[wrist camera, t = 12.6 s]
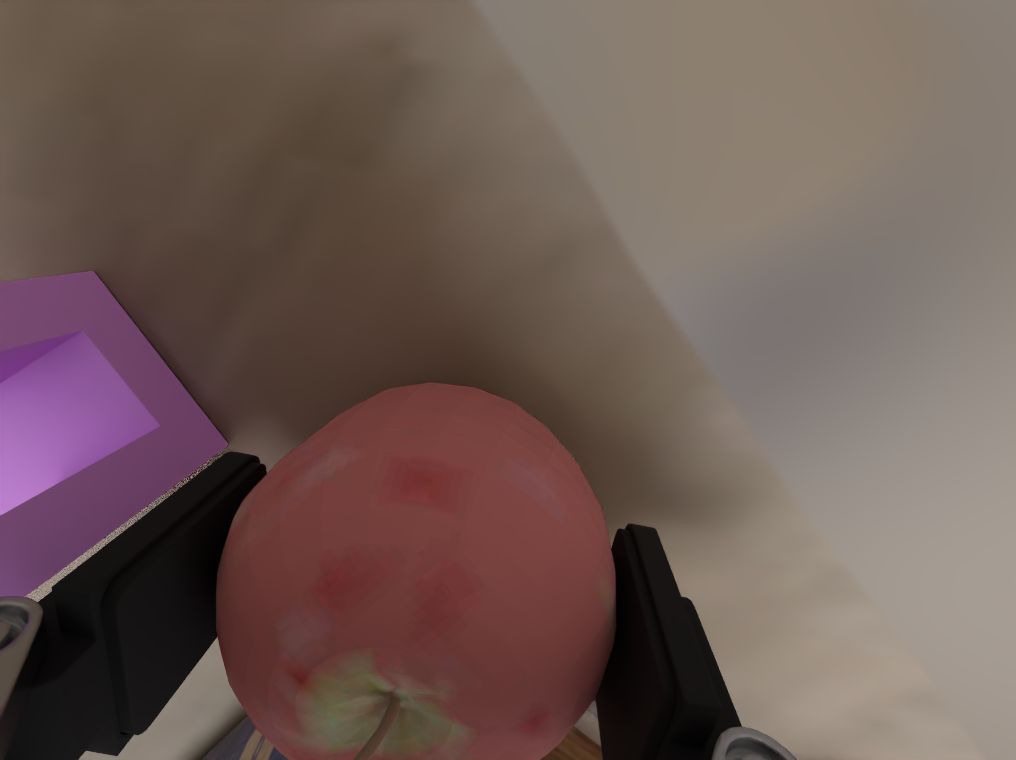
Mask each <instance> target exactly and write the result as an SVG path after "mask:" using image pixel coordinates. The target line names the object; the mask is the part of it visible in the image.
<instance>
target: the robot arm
mask: <svg viewBox="0 0 1016 760" xmlns="http://www.w3.org/2000/svg"><path fill="white" fill-rule="evenodd" d="M266 475H267V471H266V466H265V465H264V464H261V463H260V460H259V458H258V457H257V456H254V455H249V454H243V453H238V452H227V453H225V454H224V455H223V456H221V457H220V458H219V459H217V460H216V461H215V462H213V463H212V464H211V465H210V466H208V467H207V468H206V469H204V470H203V471H202V472H200V473H199V474H198V475H197V476H195V477H194V478H193V479H191V480H190V481H189V482H187V483H186V484H185V485H184V486H182V487H181V488H180V489H178V490H177V491H176V492H174V493H173V494H172V495H171V496H169V497H168V498H167V499H165V500H164V501H163V502H161V503H160V504H159V505H158V506H156V507H155V508H154V509H152V510H151V511H150V512H149V513H147V514H146V515H145V516H143V517H142V518H141V519H139V520H138V521H137V522H136V523H134V524H133V525H132V526H130V527H129V528H128V529H126V530H125V531H124V532H123V533H121V534H120V535H119V536H117V537H116V538H115V539H113V540H112V541H111V542H110V543H108V544H107V545H106V546H104V547H103V548H102V549H100V550H99V551H98V552H97V553H95V554H94V555H93V556H91V557H90V558H89V559H87V560H86V561H85V562H84V563H82V564H81V565H80V566H78V567H77V568H76V569H74V570H73V571H72V572H71V573H69V574H68V575H67V576H65V577H64V578H63V579H62V580H60V581H59V582H58V583H56V584H55V585H54V586H52V592H50V593H49V594H48V595H47V596H45V597H44V598H43V599H41V600H40V601H39V602H36V601H34V600H32V599H30V598H28V597H19V596H5V597H0V760H78V759H79V758H80V757H81V756H82V754H83V753H84V752H85V751H92V752H97V753H103V754H108V755H114V756H118V755H119V753H120V752H121V751H122V749H123V748H124V747H125V745H126V744H127V743H128V742H129V740H130V739H131V738H132V736H133V735H134V734H135V735H139V734H142V733H143V732H144V731H145V730H147V728H148V727H149V726H150V725H151V724H152V722H153V721H154V720H155V718H156V717H157V716H158V714H159V713H160V712H161V710H162V709H163V708H164V707H165V705H166V704H167V703H168V701H169V700H170V699H171V697H172V696H173V695H174V693H175V692H176V691H177V689H178V688H179V687H180V685H181V684H182V683H183V681H184V680H185V679H186V677H187V676H188V675H189V673H190V672H191V671H192V669H193V668H194V667H195V666H196V664H197V663H198V662H199V660H200V659H201V658H202V656H203V655H204V654H205V652H206V651H207V650H208V648H209V647H210V646H211V644H212V643H213V642H214V640H215V639H216V638H217V631H216V587H217V571H218V567H219V563H220V559H221V555H222V551H223V548H224V545H225V542H226V539H227V536H228V533H229V530H230V527H231V524H232V521H233V518H234V516H235V515H236V513H237V511H238V509H239V507H240V505H241V503H242V501H243V500H244V499H245V497H246V496H247V495H248V494H249V493H250V491H251V490H252V489H253V488H254V487H255V486H256V485H257V484H258V483H259V482H260V481H261V480H262V479H263V478H264V477H265V476H266ZM611 551H612V555H613V560H614V566H615V577H616V622H617V627H616V633H615V640H614V645H613V648H612V651H611V654H610V657H609V660H608V663H607V667H606V670H605V673H604V676H603V679H602V682H601V684H600V687H599V689H598V692H597V694H596V697H595V698H596V707H597V716H598V724H599V733H600V741H601V750H602V758H603V760H797V759H796V758H795V757H794V756H793V755H792V754H791V753H790V752H789V751H788V750H787V749H786V748H784V747H783V746H782V745H781V744H779V743H778V742H777V741H775V740H774V739H773V738H771V737H769V736H767V735H765V734H763V733H761V732H759V731H757V730H754V729H750V728H746V727H742V725H741V723H740V720H739V718H738V715H737V713H736V710H735V708H734V705H733V703H732V700H731V698H730V695H729V693H728V690H727V688H726V685H725V683H724V680H723V677H722V675H721V672H720V670H719V667H718V665H717V662H716V660H715V657H714V655H713V652H712V650H711V647H710V645H709V642H708V640H707V637H706V635H705V632H704V629H703V627H702V624H701V622H700V619H699V617H698V614H697V612H696V609H695V607H694V605H693V603H692V601H691V600H689V599H688V598H685V597H681V595H680V592H679V589H678V587H677V584H676V581H675V579H674V576H673V573H672V571H671V568H670V565H669V562H668V560H667V557H666V554H665V552H664V549H663V546H662V544H661V541H660V538H659V536H658V533H657V531H656V529H655V528H652V527H646V526H641V525H635V524H628V525H627V526H626V528H625V529H618V530H617V532H616V535H615V538H614V542H613V545H612V548H611Z"/></svg>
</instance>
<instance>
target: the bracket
mask: <svg viewBox="0 0 1016 760" xmlns="http://www.w3.org/2000/svg"><path fill="white" fill-rule="evenodd" d="M228 445H229V444H228V443H227V442H226V440H225V439H224V438H223V437H222V435H221V434H220V433H219V431H218V430H217V429H216V428H215V426H214V425H213V424H212V422H211V421H210V420H209V419H208V417H207V416H206V415H205V413H204V412H203V411H202V410H201V408H200V407H199V406H198V404H197V403H196V402H195V401H194V399H193V398H192V397H191V396H190V394H189V393H188V392H187V390H186V389H185V388H184V387H183V385H182V384H181V383H180V381H179V380H178V379H177V378H176V376H175V375H174V374H173V372H172V371H171V370H170V369H169V367H168V366H167V365H166V363H165V362H164V361H163V360H162V358H161V357H160V356H159V354H158V353H157V352H156V351H155V349H154V348H153V347H152V345H151V344H150V343H149V342H148V340H147V339H146V338H145V336H144V335H143V334H142V333H141V331H140V330H139V329H138V327H137V326H136V325H135V324H134V322H133V321H132V320H131V318H130V317H129V316H128V315H127V313H126V312H125V311H124V309H123V308H122V307H121V306H120V304H119V303H118V302H117V300H116V299H115V298H114V297H113V295H112V294H111V293H110V292H109V290H108V289H107V288H106V286H105V285H104V284H103V283H102V281H101V280H100V279H99V277H98V276H97V275H96V274H95V272H94V271H87V272H79V273H71V274H63V275H56V276H48V277H40V278H32V279H24V280H16V281H9V282H1V283H0V597H5V596H19V597H24V596H26V595H27V594H29V593H30V592H32V591H33V590H34V589H36V588H37V587H39V586H40V585H41V584H43V583H44V582H46V581H47V580H48V579H50V578H51V577H52V576H54V575H55V574H56V573H58V572H59V571H61V570H62V569H63V568H65V567H66V566H67V565H69V564H70V563H71V562H73V561H74V560H75V559H77V558H78V557H79V556H81V555H82V554H83V553H85V552H86V551H87V550H89V549H90V548H91V547H93V546H94V545H95V544H97V543H98V542H99V541H101V540H102V539H103V538H105V537H106V536H107V535H109V534H110V533H111V532H113V531H114V530H116V529H117V528H118V527H120V526H121V525H122V524H124V523H125V522H126V521H128V520H129V519H130V518H132V517H133V516H134V515H136V514H137V513H138V512H140V511H141V510H142V509H144V508H145V507H146V506H148V505H149V504H150V503H152V502H153V501H154V500H156V499H157V498H158V497H160V496H161V495H162V494H164V493H165V492H166V491H168V490H169V489H170V488H172V487H173V486H174V485H176V484H177V483H179V482H180V481H181V480H183V479H184V478H185V477H187V476H188V475H189V474H191V473H192V472H193V471H195V470H196V469H197V468H199V467H200V466H201V465H203V464H204V463H205V462H207V461H208V460H209V459H211V458H212V457H213V456H215V455H216V454H217V453H219V452H220V451H221V450H223V449H224V448H225V447H227V446H228Z"/></svg>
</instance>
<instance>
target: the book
mask: <svg viewBox="0 0 1016 760" xmlns="http://www.w3.org/2000/svg"><path fill="white" fill-rule="evenodd" d="M201 760H289V759H288V758H286V757H285V756H284V755H282V754H281V753H280V752H279V751H278V750H277V749H276V748H275V747H274V746H273V745H272V744H271V743H270V742H269V741H268V740H267V739H266V738H265V737H264V736H263V735H262V734H261V733H260V732H259V731H258V730H257V729H256V728H255V726H254V725H253V723H252V721H251V720H250V718H249V716H247V717H246V718H245V719H243V720H242V721H241V722H240V723H239V724H238V725H237V726H236V727H235V728H234V729H233V730H232V731H231V732H230V733H229V734H228V735H227V736H226V737H225V738H224V739H222V740H221V741H220V742H219V743H218V744H217V745H216V746H215V747H214V748H213V749H212V750H211V751H210V752H209V753H208V754H207V755H206V756H205V757H204V758H202V759H201ZM540 760H603V758H602V750H601V741H600V733H599V724H598V716H597V707H596V702H595V701H593V702H592V703H591V704H590V706H589V707H588V709H587V710H586V711H585V713H584V714H583V715H582V717H581V718H580V719H579V720H578V722H577V723H576V724H575V725H574V726H573V728H572V729H571V730H570V731H569V733H568V734H567V735H566V736H565V738H564V739H563V740H562V741H561V742H560V743H559V744H558V745H557V746H556V747H555V748H554V749H553V750H552V751H550V752H549V753H548V754H547V755H546V756H544V757H543V758H541V759H540Z"/></svg>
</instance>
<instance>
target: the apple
mask: <svg viewBox="0 0 1016 760" xmlns="http://www.w3.org/2000/svg"><path fill="white" fill-rule="evenodd" d="M616 627H617V622H616V577H615V566H614V560H613V555H612V551H611V546H610V542H609V537H608V533H607V528H606V524H605V519H604V515H603V512H602V509H601V506H600V504H599V502H598V500H597V498H596V496H595V494H594V493H593V491H592V489H591V487H590V485H589V483H588V482H587V480H586V478H585V476H584V474H583V472H582V470H581V469H580V467H579V465H578V463H577V462H576V461H575V459H574V458H573V457H572V456H571V455H570V453H569V452H568V451H567V450H566V449H565V448H564V446H563V445H562V444H561V443H560V442H559V441H558V439H557V438H556V437H555V436H554V435H553V434H552V433H551V431H550V430H549V429H548V428H547V427H546V426H545V425H543V424H542V423H541V422H539V421H538V420H537V419H535V418H534V417H533V416H531V415H530V414H529V413H528V412H526V411H525V410H524V409H522V408H521V407H520V406H518V405H517V404H516V403H514V402H511V401H509V400H506V399H503V398H501V397H498V396H495V395H493V394H490V393H488V392H485V391H483V390H480V389H478V388H475V387H468V386H458V385H450V384H442V383H434V382H429V383H423V384H417V385H410V386H403V387H395V388H390V389H387V390H384V391H382V392H380V393H378V394H376V395H374V396H372V397H370V398H368V399H367V400H365V401H363V402H361V403H359V404H357V405H355V406H353V407H351V408H349V409H347V410H346V411H344V412H343V413H341V414H340V415H338V416H337V417H335V418H334V419H333V420H331V421H330V422H329V423H328V424H326V425H325V426H324V427H322V428H321V429H320V430H318V431H317V432H316V433H314V434H313V435H312V436H310V437H309V438H308V439H307V440H305V441H304V442H303V443H301V444H300V445H299V446H297V447H296V448H295V449H293V450H292V451H291V452H290V453H288V454H287V455H286V456H285V457H284V458H283V459H281V460H280V461H279V462H278V463H277V464H276V465H275V466H274V467H273V468H272V469H271V470H270V471H269V472H268V474H267V475H266V476H265V477H264V478H263V479H262V480H261V481H260V482H259V483H258V484H257V485H256V486H255V487H254V488H253V489H252V490H251V491H250V493H249V494H248V495H247V496H246V497H245V499H244V500H243V501H242V503H241V505H240V507H239V509H238V511H237V513H236V515H235V516H234V518H233V521H232V524H231V527H230V530H229V533H228V536H227V539H226V542H225V545H224V548H223V551H222V555H221V559H220V563H219V567H218V571H217V587H216V631H217V636H218V641H219V646H220V650H221V654H222V658H223V662H224V666H225V669H226V673H227V677H228V681H229V684H230V686H231V688H232V689H233V691H234V693H235V695H236V696H237V698H238V700H239V702H240V703H241V705H242V707H243V708H244V710H245V712H246V713H247V715H248V716H249V718H250V720H251V721H252V723H253V725H254V726H255V728H256V729H257V730H258V731H259V732H260V733H261V734H262V735H263V736H264V737H265V738H266V739H267V740H268V741H269V742H270V743H271V744H272V745H273V746H274V747H275V748H276V749H277V750H278V751H279V752H280V753H281V754H282V755H284V756H285V757H286V758H288V759H289V760H540V759H541V758H543V757H544V756H546V755H547V754H548V753H549V752H550V751H552V750H553V749H554V748H555V747H556V746H557V745H558V744H559V743H560V742H561V741H562V740H563V739H564V738H565V736H566V735H567V734H568V733H569V731H570V730H571V729H572V728H573V726H574V725H575V724H576V723H577V722H578V720H579V719H580V718H581V717H582V715H583V714H584V713H585V711H586V710H587V709H588V707H589V706H590V704H591V703H592V702H593V700H594V699H595V697H596V694H597V692H598V689H599V687H600V684H601V682H602V679H603V676H604V673H605V670H606V667H607V663H608V660H609V657H610V654H611V651H612V648H613V645H614V640H615V633H616Z"/></svg>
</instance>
